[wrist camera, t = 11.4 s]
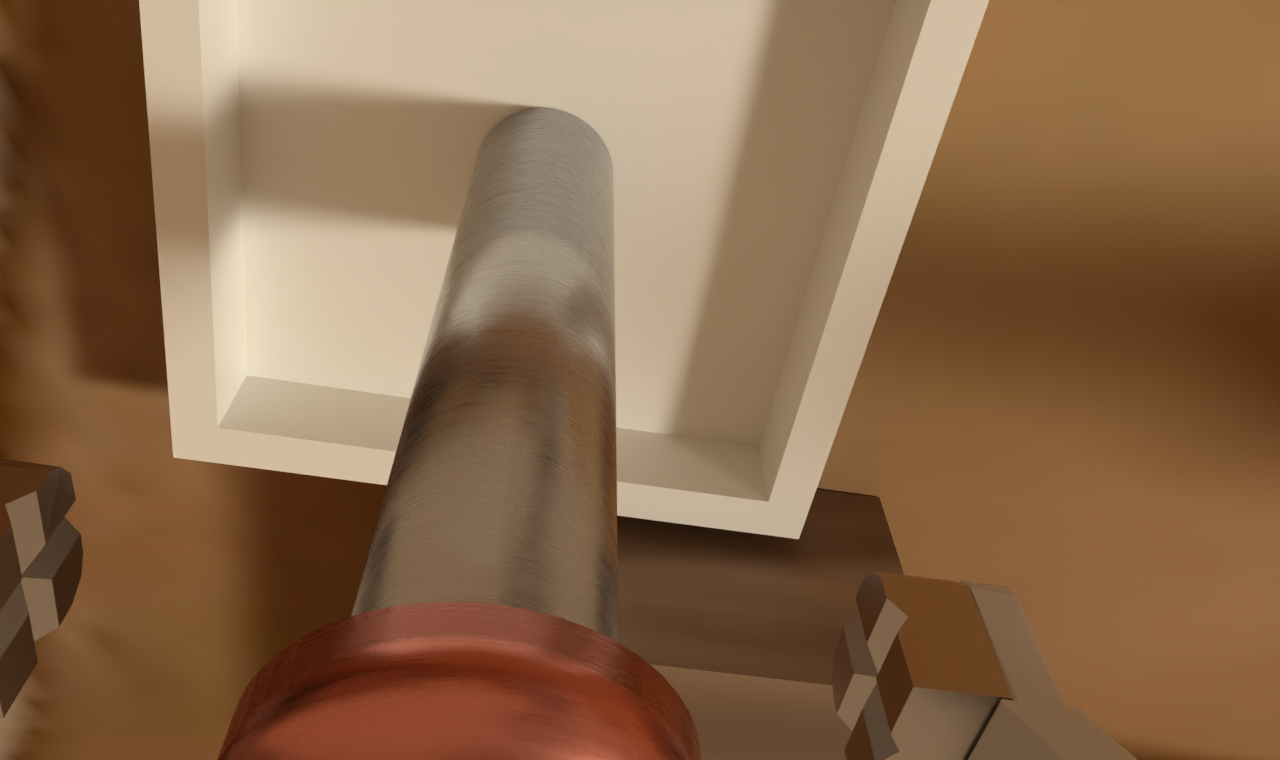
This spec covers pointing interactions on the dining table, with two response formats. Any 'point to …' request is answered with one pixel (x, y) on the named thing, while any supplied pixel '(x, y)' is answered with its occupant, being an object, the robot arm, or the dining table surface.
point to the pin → (493, 509)
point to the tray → (643, 217)
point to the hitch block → (752, 622)
